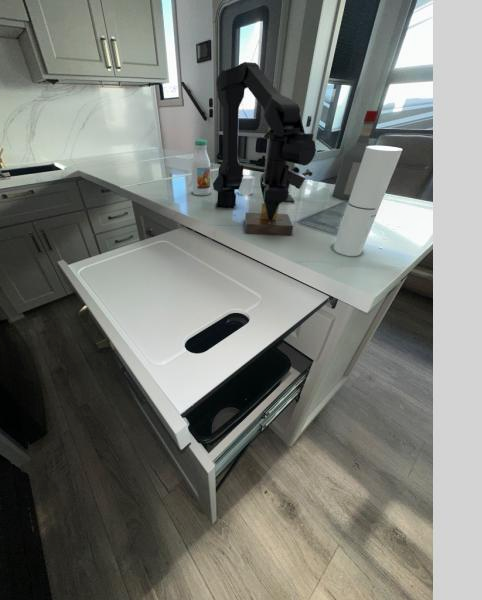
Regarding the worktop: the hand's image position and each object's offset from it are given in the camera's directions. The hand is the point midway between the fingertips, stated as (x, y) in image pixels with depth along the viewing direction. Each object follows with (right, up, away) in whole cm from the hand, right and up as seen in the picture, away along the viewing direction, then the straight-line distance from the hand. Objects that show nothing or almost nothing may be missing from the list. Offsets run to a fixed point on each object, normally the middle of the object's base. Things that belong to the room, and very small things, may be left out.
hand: (268, 214), depth 83 cm
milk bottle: (-22, +19, +32) cm, 44 cm away
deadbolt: (0, -1, +1) cm, 1 cm away
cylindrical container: (+20, -13, -9) cm, 25 cm away
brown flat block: (0, -4, +3) cm, 5 cm away
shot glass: (-3, +19, +32) cm, 37 cm away
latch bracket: (+10, +14, +25) cm, 31 cm away
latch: (+15, +20, +20) cm, 32 cm away
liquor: (+39, +16, +29) cm, 51 cm away
